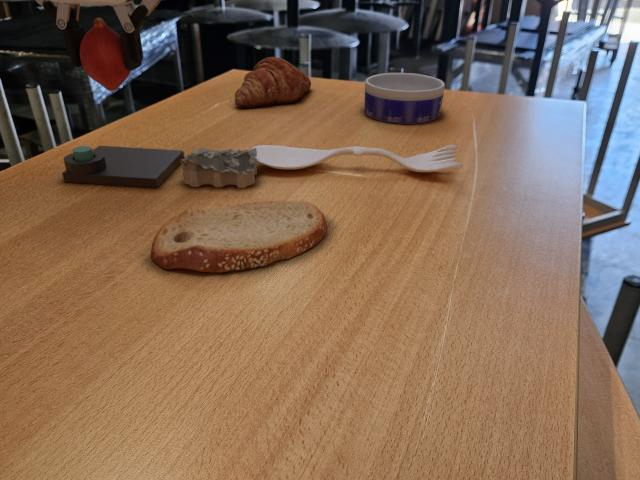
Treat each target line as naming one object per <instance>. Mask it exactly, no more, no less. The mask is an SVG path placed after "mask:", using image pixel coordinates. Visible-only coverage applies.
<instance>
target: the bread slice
mask: <svg viewBox="0 0 640 480" xmlns="http://www.w3.org/2000/svg"><path fill="white" fill-rule="evenodd" d="M327 231H328V223H327V221H326V217H325V214H324V213H323V211H321V210H320V208H318V206H317V205H315V204H313V203H311V202H307V201H305V200H285V199H284V200H276V201H273V200H270V201H269V200H265V201H253V202H243V203H236V204H228V205H221V206H213V207H207V208H206V207H205V208H195V209H191V210H188V209H184V210H182V211H181V212H179V213H178V214H177V215H175V216H172V217H171V218H169V219H168V220H167V221H166V222H165V223H163V225H161V227H160V228H159V230H158V231H157V232H156V234H155V235H154V237H153V239H152V244H151V248H150V259H151V261H152V262H154V263H156V264H157V265H158V266H160V267H161V268H163V269H165V270H174V269H180V270H181V269H182V270H191V271H195V272H201V273H220V274H221V273H226V272H232V271H242V270H248V269H254V268H258V267H259V268H260V267H266V266H268V265H270V264H272V263H273V262H278V261H281V260H288V259H290V258H293V257H295V256H299V255H301V254H303V253H304V252H306V251H307V250H309V249H311V248H313V247H315V246H316V245H317V244H318V243H319V242H320V241H322V239H323V238H324V237H325V236H326V233H327Z"/></svg>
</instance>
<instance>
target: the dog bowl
mask: <svg viewBox="0 0 640 480" xmlns="http://www.w3.org/2000/svg"><path fill="white" fill-rule="evenodd" d="M445 88H446V84H445V82H444V81H443V80H442V79H439V78H437V77H434V76H431V75H425V74H421V73H411V72H385V73H377V74H374V75H371V76H368V77H367V78H366V79H365V81H364V113H365V115H366V116H368V117H370V118H372V119H373V120H377V121H379V122H386V123H391V124H403V125H412V124H424V123H430V122H433V121H436V120H437V119H439V118H440V117H441V112H442V108H443V107H442V106H443V102H444V101H443V100H444V94H445Z"/></svg>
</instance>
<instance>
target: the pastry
mask: <svg viewBox="0 0 640 480" xmlns="http://www.w3.org/2000/svg"><path fill="white" fill-rule="evenodd" d="M311 85H312V82H311V78H310V77H309V75H307V74H306V73H305V72H303V71H301V70H300V69H299V68H297V67H296V66H294V65H293V64H292V63H291V62H289V61H287V60H286V59H284V58H282V57H278V56H277V57H276V56H267V57H265V58H263V59H261V60H260V61H257V63H256V64H255V65H254V66H253V70H252V71H249V72H247V73H246V74H245V75H244V77H243V82H242V83H241V86H240V87H239V88H237V90H235V92H234V103H235V105H236V106H237V107H238V108H239V109H244V108H246V109H247V108H259V107H268V106H271V105H275V106H276V105H277V106H278V105H284V104H286V105H287V104H291V103H296V102H297V101H299V100H301V99H302V97H303V96H304V95H305V94H307V93H308V92H309V90H311Z"/></svg>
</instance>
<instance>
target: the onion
mask: <svg viewBox="0 0 640 480" xmlns="http://www.w3.org/2000/svg"><path fill="white" fill-rule="evenodd" d="M93 24H94V25H93V27H91V28H90V29H89V30H88V31H87V32H85V36H84V37H83V39H82V42H81V45H80V59H81V63H82V66H81V67H82V69H83V70H84V72H85V73H86V75H87V76H88V77H90V79H92V80H93V81H94V82H96V83H97V84H99V85H100V86H102V87H103V88H104V89H106V90H107V91H109V92H115V91H117V90H118V89H119V88H120V87H121V86H122V85H123V83H125V81H126V80H127V79H128V77H129V76H130V74H131V71H132V70H127V69H126V68H125V63H124V57H123V51H122V45H121V39H120V33H118V32H117V31H115V30H114V29H112V28H111V27H109V25H107V24H106V22H105V21H104V19H103V18H101V17H96V18H95V19H94V20H93Z"/></svg>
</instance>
